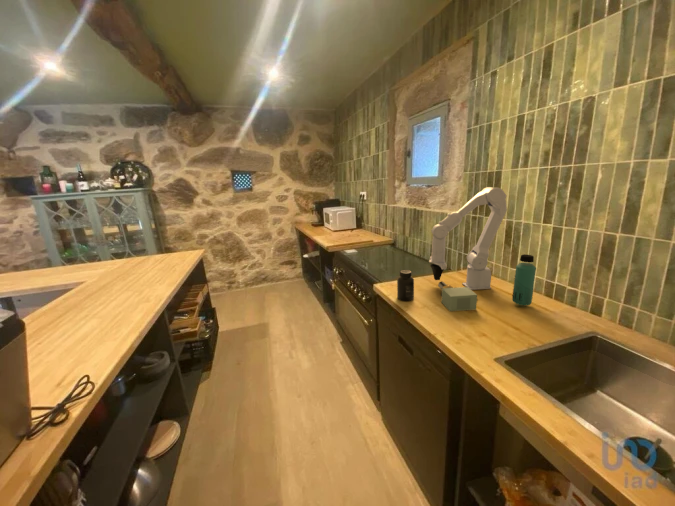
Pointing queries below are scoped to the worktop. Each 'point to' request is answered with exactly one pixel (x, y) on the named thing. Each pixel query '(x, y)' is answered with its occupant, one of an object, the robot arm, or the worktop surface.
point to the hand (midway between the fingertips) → (437, 279)
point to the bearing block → (459, 299)
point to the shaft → (444, 285)
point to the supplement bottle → (405, 286)
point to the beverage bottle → (524, 281)
